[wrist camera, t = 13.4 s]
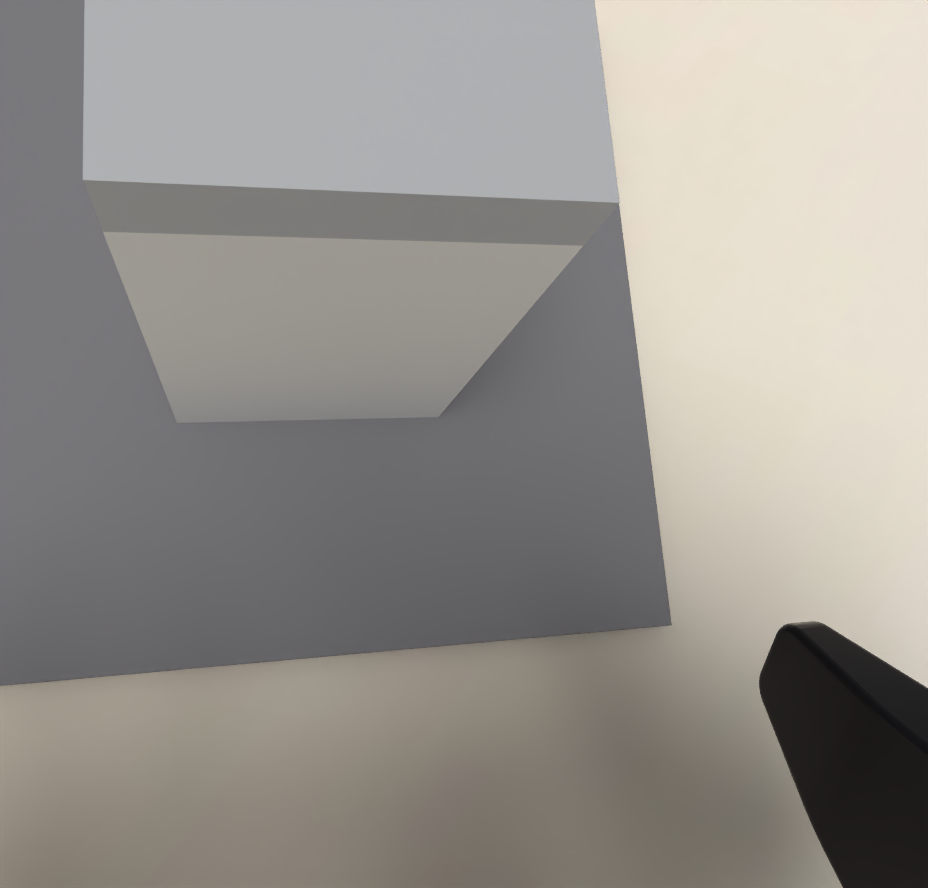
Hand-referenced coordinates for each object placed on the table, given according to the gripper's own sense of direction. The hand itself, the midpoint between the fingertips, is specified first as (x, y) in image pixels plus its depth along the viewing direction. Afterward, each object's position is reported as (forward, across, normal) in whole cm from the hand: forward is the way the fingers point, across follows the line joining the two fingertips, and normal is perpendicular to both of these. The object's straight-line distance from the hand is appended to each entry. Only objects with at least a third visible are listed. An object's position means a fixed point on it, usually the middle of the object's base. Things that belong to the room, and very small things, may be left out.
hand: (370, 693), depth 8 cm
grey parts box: (+10, 0, 0) cm, 10 cm away
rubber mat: (+11, 0, +1) cm, 11 cm away
